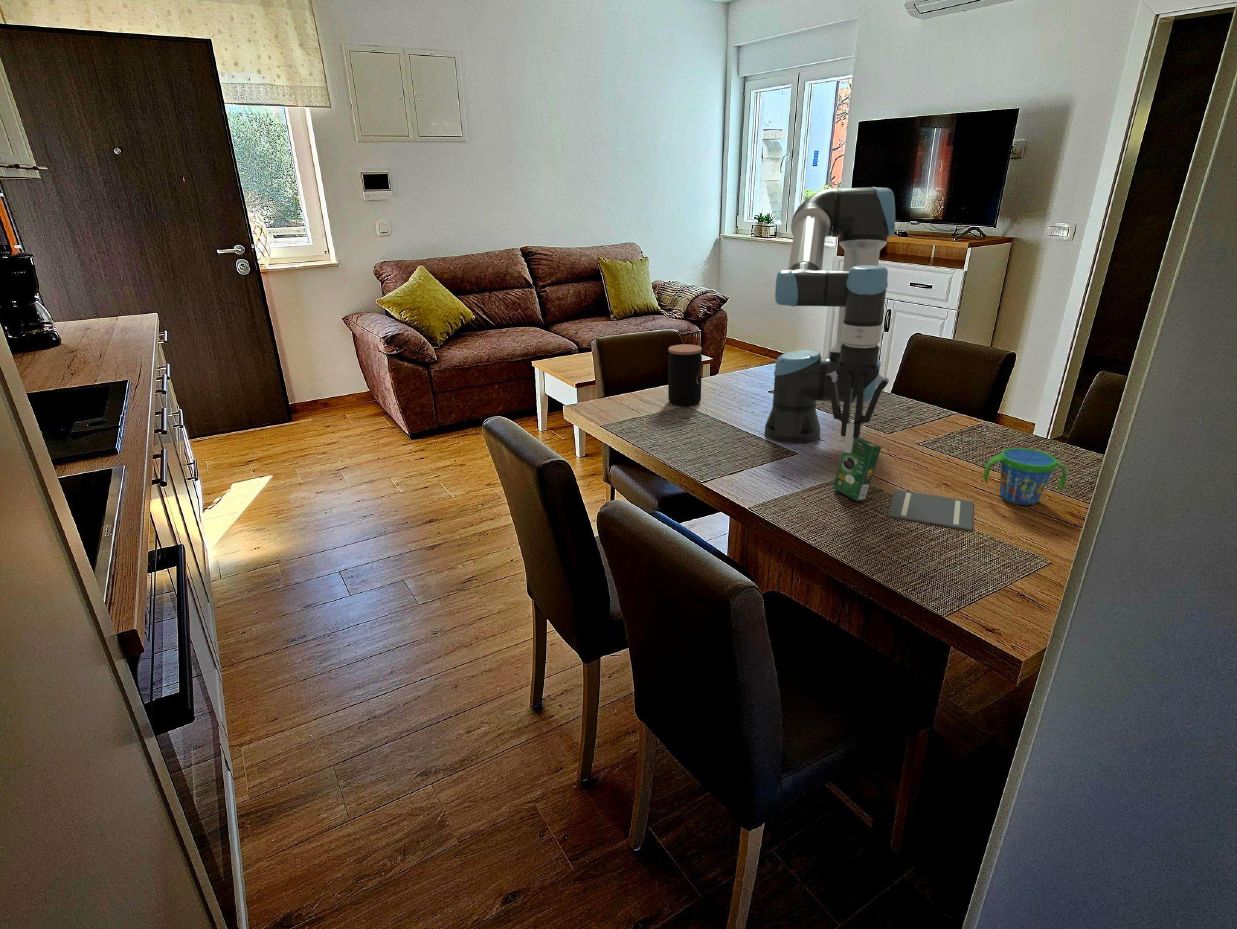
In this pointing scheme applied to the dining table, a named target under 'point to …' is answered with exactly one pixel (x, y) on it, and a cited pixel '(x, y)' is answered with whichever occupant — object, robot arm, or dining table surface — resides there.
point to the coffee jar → (684, 375)
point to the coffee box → (857, 469)
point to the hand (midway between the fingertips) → (848, 450)
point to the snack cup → (1024, 474)
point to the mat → (932, 509)
